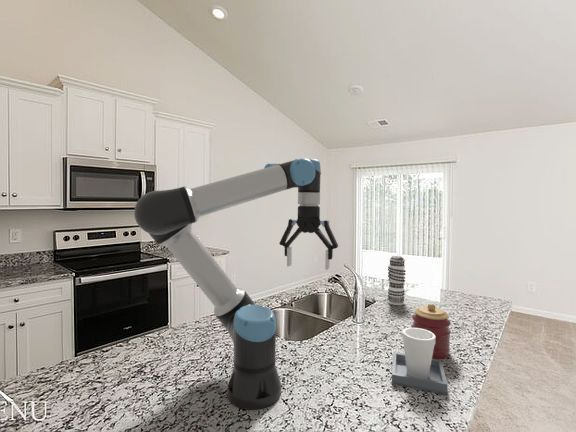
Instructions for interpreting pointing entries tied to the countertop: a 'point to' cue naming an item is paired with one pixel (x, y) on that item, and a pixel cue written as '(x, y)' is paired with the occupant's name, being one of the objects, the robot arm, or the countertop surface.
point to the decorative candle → (396, 280)
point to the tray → (432, 383)
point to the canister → (434, 328)
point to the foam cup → (418, 351)
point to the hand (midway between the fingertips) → (307, 267)
